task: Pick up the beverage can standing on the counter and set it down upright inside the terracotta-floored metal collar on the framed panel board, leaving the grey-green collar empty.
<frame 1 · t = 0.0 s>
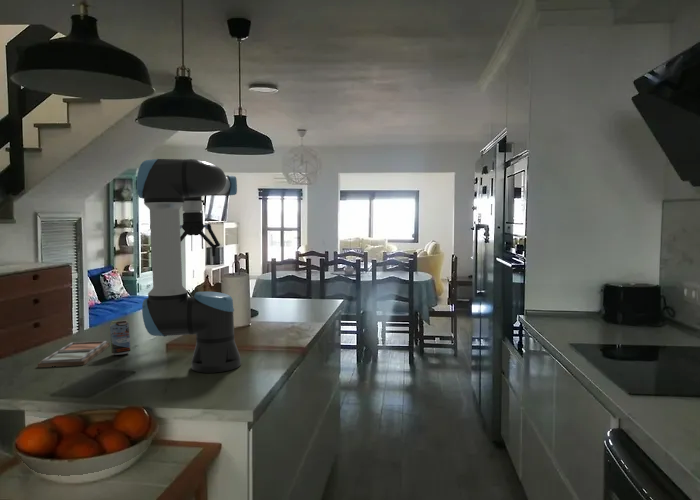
hand: (194, 265, 213), 28 cm above the kitchen island, fingers open, 13 cm apart
framed panel board: (76, 355, 184), on the kitchen island
beverage can: (121, 354, 185), on the kitchen island
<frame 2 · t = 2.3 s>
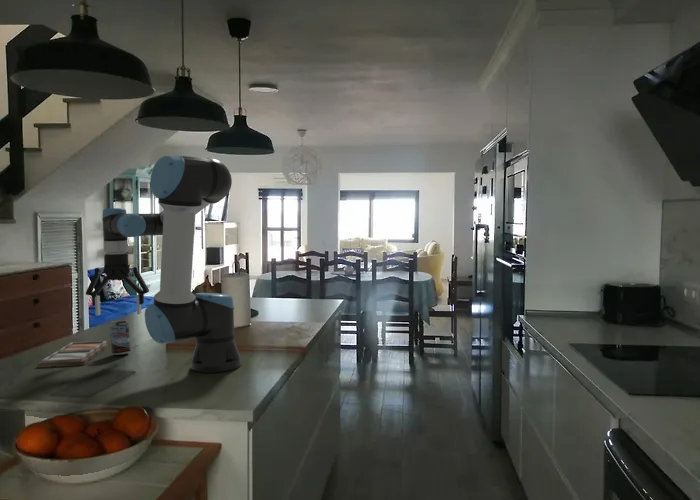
hand: (118, 314, 184), 14 cm above the kitchen island, fingers open, 13 cm apart
nothing on the kitchen island moved.
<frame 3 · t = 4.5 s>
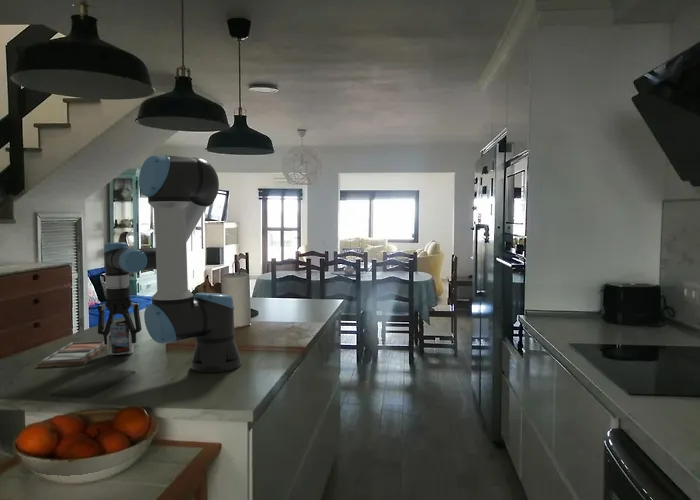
hand: (120, 352, 185), 0 cm above the kitchen island, fingers closed on beverage can, 6 cm apart
beverage can: (121, 354, 185), on the kitchen island, touching gripper
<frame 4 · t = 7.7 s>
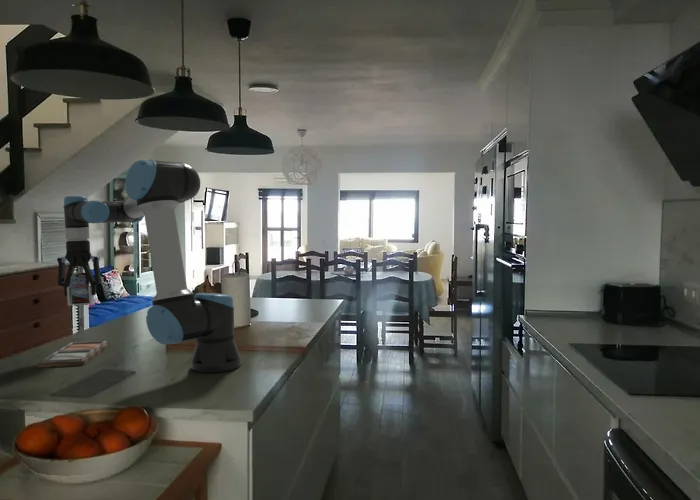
hand: (81, 304, 189), 17 cm above the kitchen island, fingers closed on beverage can, 6 cm apart
beverage can: (81, 306, 189), point 16 cm above the kitchen island, touching gripper
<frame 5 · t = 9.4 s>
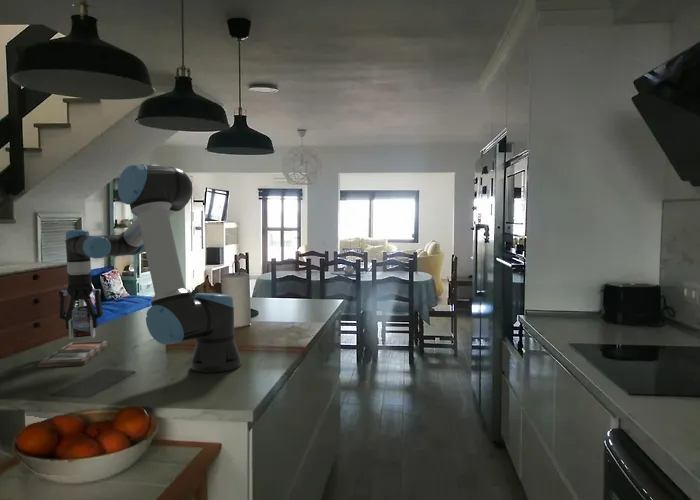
hand: (82, 337, 190), 5 cm above the kitchen island, fingers closed on beverage can, 6 cm apart
beverage can: (82, 339, 190), point 4 cm above the kitchen island, touching gripper
when the fingers open (2 cm above the kitchen island, at t = 10.9 s): beverage can stays where it is, resting on framed panel board.
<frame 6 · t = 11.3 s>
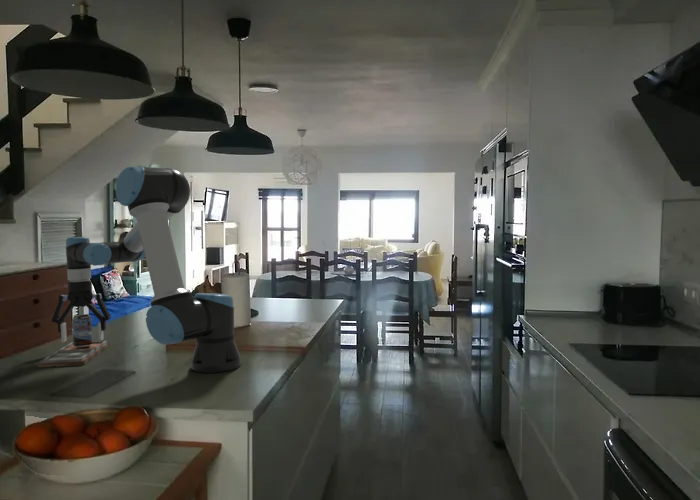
hand: (82, 340, 190), 4 cm above the kitchen island, fingers open, 12 cm apart
beverage can: (83, 347, 190), point 1 cm above the kitchen island, touching framed panel board
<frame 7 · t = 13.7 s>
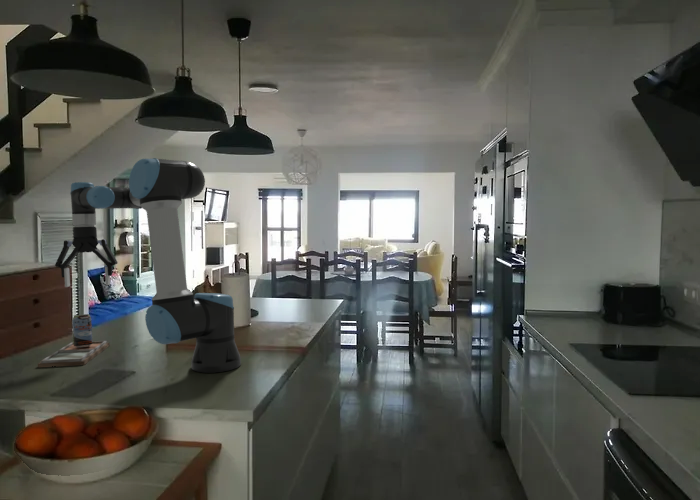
hand: (87, 285, 190), 23 cm above the kitchen island, fingers open, 13 cm apart
nothing on the kitchen island moved.
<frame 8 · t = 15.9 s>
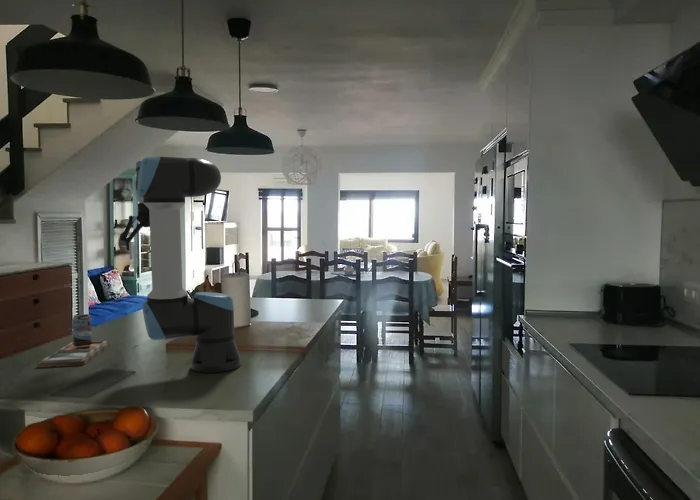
hand: (150, 258, 201), 32 cm above the kitchen island, fingers open, 13 cm apart
nothing on the kitchen island moved.
at the end: beverage can inside the target area on the framed panel board (0.0 cm from its centre), point 1.2 cm above the framed panel board's base; beverage can tilted 0°; the gripper is holding nothing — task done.
